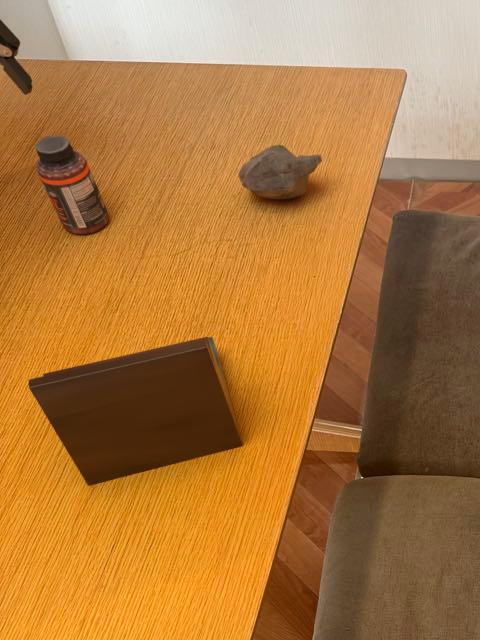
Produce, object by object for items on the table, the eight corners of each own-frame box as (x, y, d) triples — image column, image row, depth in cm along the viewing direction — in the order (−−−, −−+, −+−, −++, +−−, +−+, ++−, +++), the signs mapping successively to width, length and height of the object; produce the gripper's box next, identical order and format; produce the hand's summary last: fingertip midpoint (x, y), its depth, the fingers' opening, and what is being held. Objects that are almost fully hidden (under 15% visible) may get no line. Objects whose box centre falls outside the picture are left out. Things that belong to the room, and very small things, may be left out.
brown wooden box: (75, 389, 101) (20, 288, 89) (219, 356, 104) (183, 255, 93) (88, 485, 93) (28, 388, 81) (243, 445, 96) (207, 347, 85)
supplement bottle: (55, 221, 119) (17, 140, 110) (98, 204, 121) (64, 124, 112) (75, 242, 116) (38, 161, 107) (118, 225, 119) (85, 144, 110)
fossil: (320, 172, 127) (309, 118, 121) (333, 208, 122) (323, 153, 116) (241, 186, 125) (226, 131, 118) (251, 223, 120) (236, 167, 113)
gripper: (-167, -18, 98) (-47, 115, 104) (-53, -61, 105) (53, 66, 111) (-166, 19, 104) (-53, 144, 110) (-58, -23, 111) (43, 96, 117)
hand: (0, 105), depth 110 cm, fingers open, 8 cm apart
